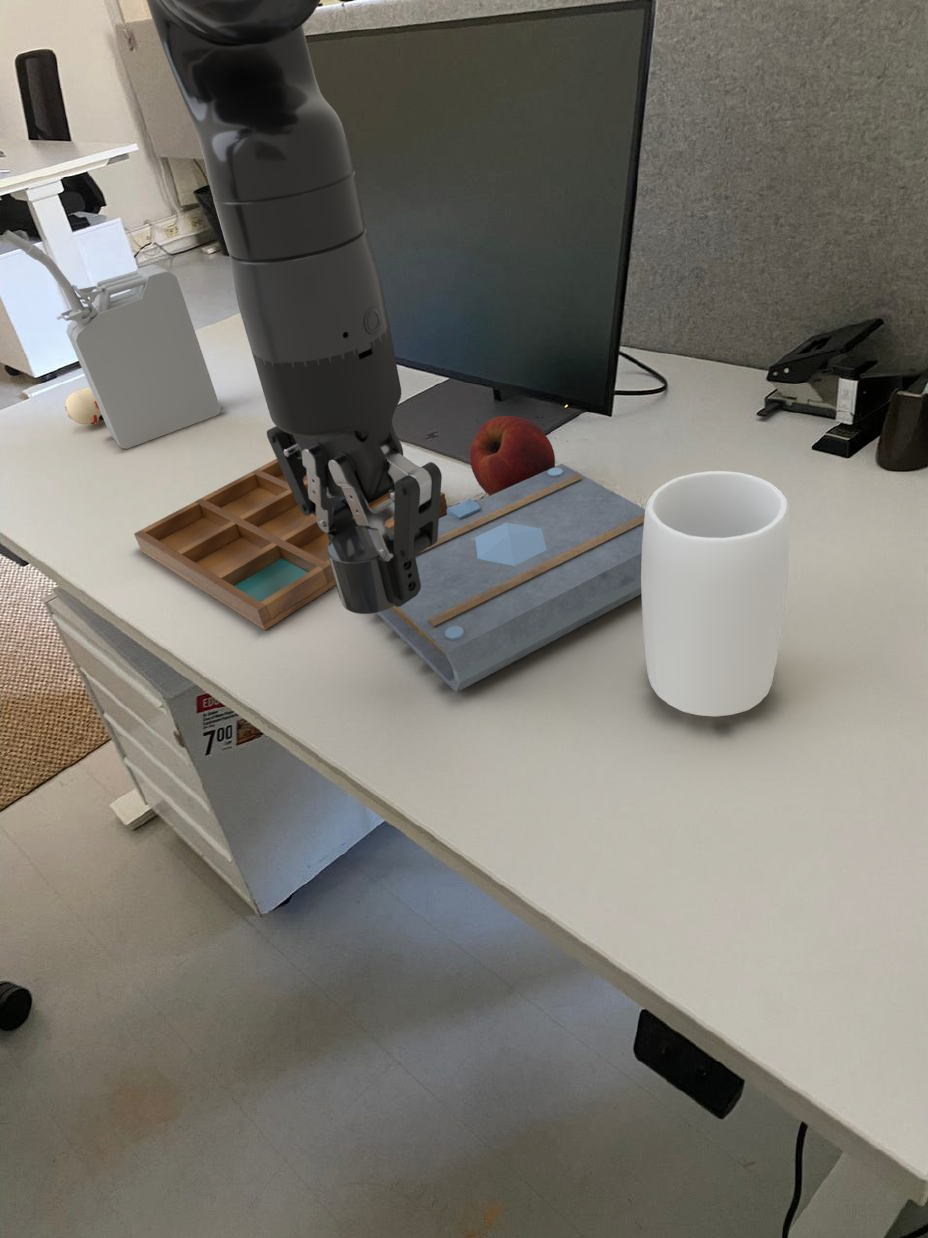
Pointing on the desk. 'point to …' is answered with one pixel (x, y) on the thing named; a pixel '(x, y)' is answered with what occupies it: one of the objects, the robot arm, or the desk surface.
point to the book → (520, 573)
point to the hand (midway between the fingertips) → (379, 585)
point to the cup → (714, 590)
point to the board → (249, 546)
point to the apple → (509, 453)
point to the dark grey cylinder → (358, 571)
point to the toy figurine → (83, 407)
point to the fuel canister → (136, 351)
